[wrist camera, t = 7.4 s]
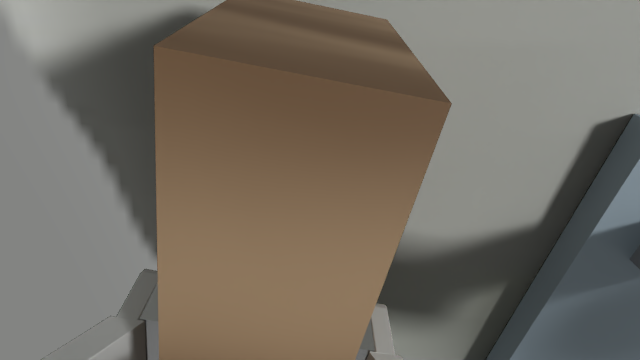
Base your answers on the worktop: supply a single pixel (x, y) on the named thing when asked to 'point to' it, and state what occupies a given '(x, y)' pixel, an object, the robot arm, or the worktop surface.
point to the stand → (588, 274)
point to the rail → (283, 177)
